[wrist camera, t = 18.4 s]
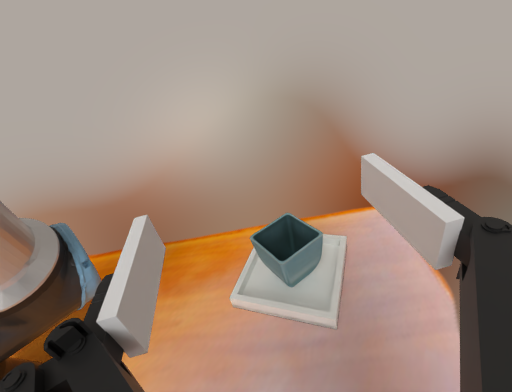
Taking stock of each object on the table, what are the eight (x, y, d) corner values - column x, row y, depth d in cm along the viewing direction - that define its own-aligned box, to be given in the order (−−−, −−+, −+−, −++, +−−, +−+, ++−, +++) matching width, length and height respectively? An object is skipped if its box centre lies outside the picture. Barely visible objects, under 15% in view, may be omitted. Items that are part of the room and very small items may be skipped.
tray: (233, 306, 46) (229, 298, 44) (264, 237, 58) (262, 229, 57) (336, 329, 39) (336, 319, 37) (346, 245, 51) (346, 236, 50)
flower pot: (258, 272, 50) (248, 236, 45) (294, 246, 53) (287, 211, 48) (290, 302, 43) (281, 265, 38) (328, 271, 46) (324, 233, 42)
